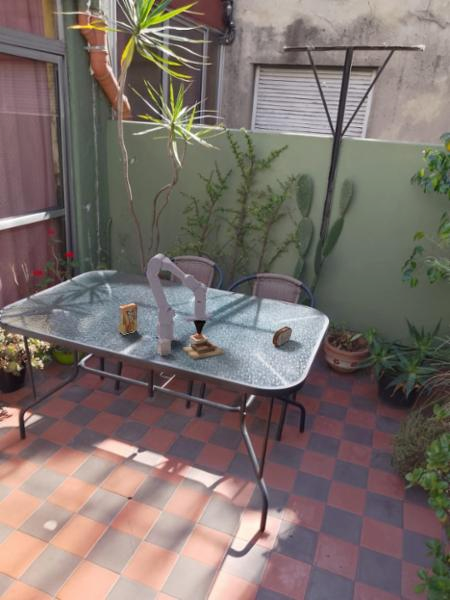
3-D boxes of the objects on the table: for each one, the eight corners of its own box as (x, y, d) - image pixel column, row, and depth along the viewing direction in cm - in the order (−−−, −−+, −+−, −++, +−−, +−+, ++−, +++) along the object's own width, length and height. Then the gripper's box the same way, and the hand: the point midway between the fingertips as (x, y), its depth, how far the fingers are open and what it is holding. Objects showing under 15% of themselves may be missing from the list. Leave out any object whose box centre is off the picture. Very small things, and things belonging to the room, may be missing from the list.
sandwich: (286, 338, 241) (288, 323, 238) (292, 340, 239) (293, 325, 236) (271, 347, 230) (272, 331, 227) (276, 348, 228) (278, 333, 225)
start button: (194, 339, 230) (194, 333, 229) (200, 338, 232) (200, 332, 230) (197, 342, 227) (197, 335, 226) (203, 341, 229) (203, 334, 228)
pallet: (182, 349, 221) (182, 343, 220) (211, 343, 229) (211, 338, 228) (194, 359, 211) (194, 353, 210) (223, 353, 219) (223, 347, 218)
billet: (157, 353, 216) (157, 339, 214) (167, 351, 219) (167, 338, 216) (160, 356, 213) (161, 343, 211) (170, 354, 216) (170, 341, 213)
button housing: (189, 341, 231) (189, 335, 230) (201, 338, 234) (201, 333, 233) (195, 346, 225) (196, 341, 224) (208, 344, 229) (208, 338, 228)
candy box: (132, 329, 241) (132, 302, 236) (137, 332, 238) (137, 304, 233) (119, 333, 235) (118, 306, 229) (123, 336, 232) (123, 308, 227)
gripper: (190, 312, 217) (189, 338, 221) (216, 308, 224) (215, 333, 228) (184, 308, 222) (183, 333, 227) (209, 304, 229) (208, 328, 234)
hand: (198, 333), depth 228 cm, fingers closed
